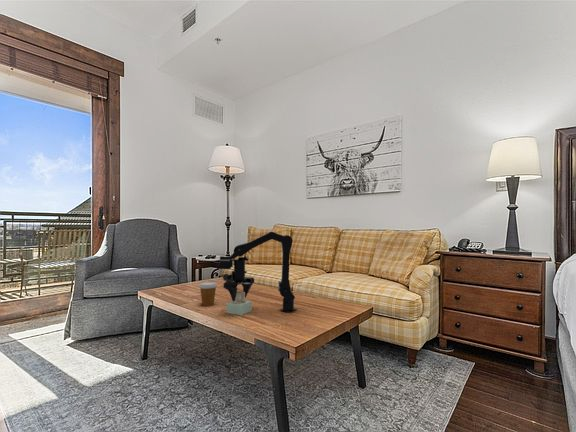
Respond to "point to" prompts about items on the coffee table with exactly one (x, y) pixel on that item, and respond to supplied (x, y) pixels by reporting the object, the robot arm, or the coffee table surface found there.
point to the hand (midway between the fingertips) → (239, 299)
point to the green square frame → (239, 307)
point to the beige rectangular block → (240, 297)
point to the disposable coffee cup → (208, 293)
